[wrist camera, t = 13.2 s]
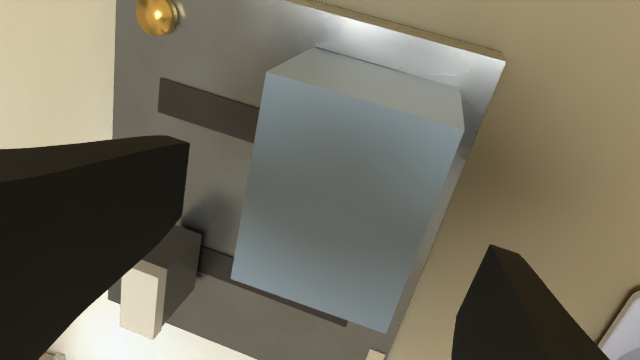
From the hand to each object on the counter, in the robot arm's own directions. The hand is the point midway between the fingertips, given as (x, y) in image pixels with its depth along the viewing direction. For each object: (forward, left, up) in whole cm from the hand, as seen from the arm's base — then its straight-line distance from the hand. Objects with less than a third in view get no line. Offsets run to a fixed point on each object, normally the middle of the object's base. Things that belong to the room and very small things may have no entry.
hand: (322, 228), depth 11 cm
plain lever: (+5, +6, -4) cm, 9 cm away
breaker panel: (+3, +3, -7) cm, 8 cm away
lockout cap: (0, 0, -5) cm, 5 cm away
